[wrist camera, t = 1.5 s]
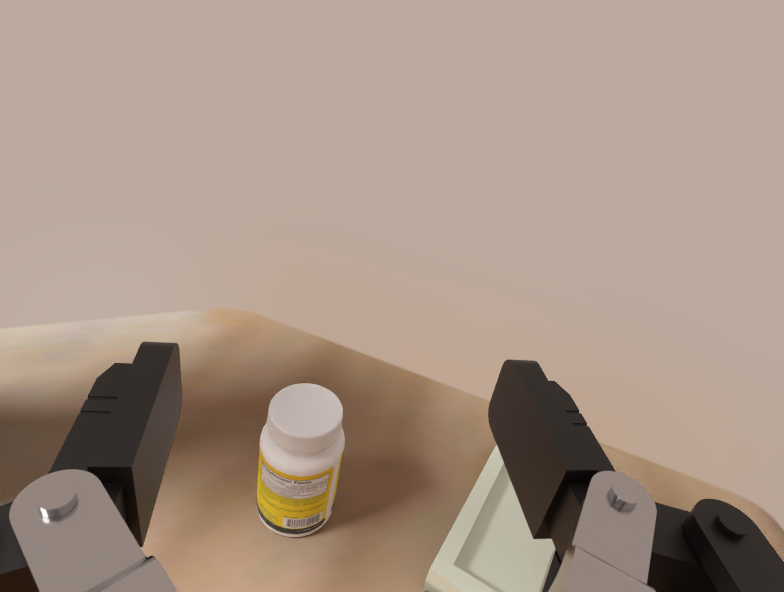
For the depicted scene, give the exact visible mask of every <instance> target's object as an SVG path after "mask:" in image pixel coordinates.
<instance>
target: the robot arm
mask: <svg viewBox="0 0 784 592" xmlns="http://www.w3.org/2000/svg"><path fill="white" fill-rule="evenodd" d="M181 402H182V388H181V371H180V354H179V346H178V344H177V343H161V342H142V343H141V345H140V347H139V349H138V352H137V354H136V356H135V358H134V361H133V363H132V364H127V363H115V364H113V365H112V366H111V367H110V368H109V369H107V370H106V371H105V372H104V373H103V374H101V375H100V376H99V377H98V378H97V379H96V381H95V383H94V385H93V387H92V389H91V391H90V393H89V395H88V400H86V401H85V403H84V405H83V407H82V409H81V412H80V415H78V417H77V419H76V421H75V423H74V425H73V426H72V428H71V430H70V432H69V434H68V436H67V438H66V440H65V442H64V444H63V446H62V448H61V450H60V452H59V454H58V456H57V458H56V460H55V462H54V464H53V466H52V468H51V470H50V471H49V473H48V474H47V475H44V476H42V477H40V478H38V479H37V480H35V481H33V482H32V483H30V484H29V485H28V486H27V487H25V488H24V489H23V490H22V491H21V492H20V493H19V494H18V496H17V497H16V498H15V500H14V501H13V502H10V503H8V504H5V505H3V506H0V592H178V591H177V590H176V588H175V586H174V585H173V583H172V582H171V580H170V578H169V577H168V575H167V573H166V572H165V570H164V569H163V567H162V565H161V564H160V563H159V561H158V560H157V559H156V558H155V557H154V556H150V557H146V555H145V554H144V553H143V551H142V550H141V548H140V547H143V544H144V541H145V537H146V534H147V530H148V527H149V523H150V520H151V516H152V513H153V509H154V506H155V502H156V499H157V495H158V491H159V488H160V484H161V481H162V477H163V474H164V470H165V467H166V463H167V460H168V456H169V453H170V449H171V446H172V442H173V439H174V435H175V432H176V428H177V425H178V421H179V417H180V411H181ZM488 417H489V424H490V428H491V431H492V433H493V436H494V438H495V441H496V444H497V446H498V449H499V451H500V454H501V457H502V459H503V462H504V464H505V467H506V470H507V472H508V475H509V477H510V480H511V482H512V485H513V488H514V490H515V493H516V495H517V498H518V501H519V503H520V506H521V508H522V511H523V514H524V516H525V519H526V521H527V524H528V527H529V529H530V532H531V534H532V537H533V539H552V541H553V543H554V546H555V549H554V551H553V553H552V555H551V557H550V560H549V563H548V566H547V569H546V573H545V576H544V579H543V582H542V585H541V588H540V591H539V592H784V562H783V561H782V559H781V558H780V557H779V555H778V554H777V553H776V551H775V550H774V548H773V547H772V546H771V544H770V543H769V542H768V540H767V539H766V537H765V536H764V535H763V533H762V532H761V531H760V529H759V528H758V527H757V525H756V524H755V523H754V522H753V521H752V520H751V519H750V518H749V517H748V516H747V515H745V514H744V513H743V512H741V511H740V510H739V509H737V508H735V507H734V506H732V505H730V504H728V503H725V502H723V501H719V500H716V499H703V500H700V501H699V502H698V503H697V504H696V505H695V506H694V508H693V509H692V511H691V512H688V511H684V510H681V509H677V508H673V507H670V506H666V505H663V504H659V503H656V502H654V500H653V498H652V497H651V495H650V494H649V493H648V491H647V490H646V489H645V488H644V487H643V486H642V485H640V484H639V483H638V482H637V481H635V480H634V479H632V478H630V477H628V476H626V475H624V474H622V473H618V472H616V471H615V470H614V468H613V466H612V465H611V463H610V461H609V460H608V458H607V456H606V454H605V453H604V451H603V449H602V448H601V446H600V444H599V443H598V441H597V439H596V438H595V436H594V434H593V433H592V431H591V429H590V428H589V427H587V423H586V421H585V419H584V418H583V416H582V414H579V409H578V408H577V406H576V404H575V403H574V401H573V399H572V398H571V396H570V395H569V394H568V393H567V392H566V391H565V390H564V389H563V388H561V387H560V386H559V385H558V384H557V383H556V382H555V381H548V380H547V378H546V376H545V374H544V372H543V371H542V369H541V367H540V365H539V364H538V363H537V362H536V361H527V360H506V361H505V362H504V364H503V366H502V369H501V371H500V374H499V377H498V381H497V383H496V386H495V389H494V392H493V395H492V398H491V401H490V404H489V411H488Z"/></svg>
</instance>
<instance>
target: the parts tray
mask: <svg viewBox="0 0 784 592" xmlns="http://www.w3.org/2000/svg"><path fill="white" fill-rule="evenodd" d="M554 549H555V546H554V543H553V541H552V539H533V537H532V534H531V532H530V529H529V527H528V524H527V521H526V519H525V516H524V514H523V511H522V508H521V506H520V503H519V501H518V498H517V495H516V493H515V490H514V488H513V485H512V482H511V480H510V477H509V475H508V472H507V470H506V467H505V464H504V462H503V459H502V457H501V454H500V451H499V449H498V446H497V444H496V446H495V448H494V450H493V452H492V453H491V455H490V457H489V459H488V461H487V463H486V465H485V467H484V468H483V470H482V472H481V474H480V476H479V478H478V480H477V482H476V483H475V485H474V487H473V489H472V491H471V493H470V495H469V496H468V498H467V500H466V502H465V504H464V506H463V508H462V510H461V511H460V513H459V515H458V517H457V519H456V521H455V523H454V525H453V526H452V528H451V530H450V532H449V534H448V536H447V538H446V539H445V541H444V543H443V545H442V547H441V549H440V551H439V553H438V554H437V556H436V558H435V560H434V562H433V564H432V566H431V567H430V570H429V572H428V575H427V577H426V580H425V582H424V585H423V587H422V588H423V589H424V590H426V591H427V592H539V591H540V588H541V585H542V582H543V579H544V576H545V573H546V569H547V566H548V563H549V560H550V557H551V555H552V553H553V551H554Z"/></svg>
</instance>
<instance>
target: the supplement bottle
mask: <svg viewBox="0 0 784 592" xmlns="http://www.w3.org/2000/svg"><path fill="white" fill-rule="evenodd" d="M342 419H343V407H342V404H341V402H340V400H339V399H338V397H337V396H336V395H335V394H334V393H333V392H331V391H330V390H328V389H327V388H325V387H322V386H320V385H316V384H310V383H300V384H293V385H290V386H287V387H285V388H283V389H282V390H280V391H279V392H278V393H276V394H275V396H274V397H273V398H272V400H271V402H270V405H269V410H268V417H267V423H266V424H265V426H264V427H263V430H262V432H261V436H260V443H259V464H258V483H257V511H258V514H259V517H260V519H261V520H262V522H263V523H264V524H265V526H266V527H267V528H269V529H270V530H272V531H273V532H275V533H277V534H280V535H282V536H287V537H302V536H306V535H309V534H311V533H313V532H315V531H317V530H318V529H320V528H321V527H322V526H323V525H324V524H325V523H326V522H327V520H328V519H329V517H330V515H331V513H332V510H333V506H334V502H335V496H336V490H337V484H338V479H339V473H340V468H341V462H342V457H343V452H344V447H345V437H344V432H343V429H342Z"/></svg>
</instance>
